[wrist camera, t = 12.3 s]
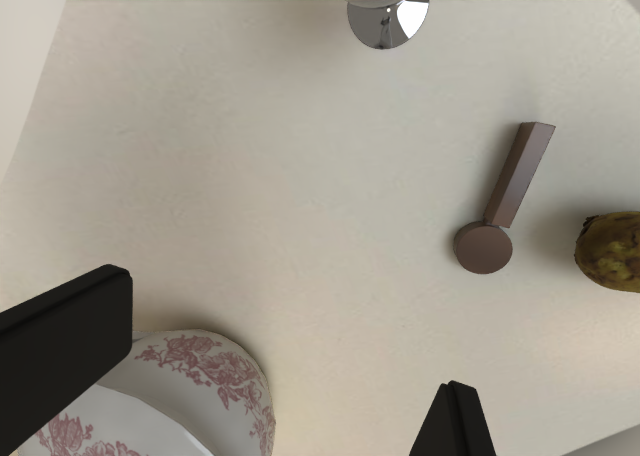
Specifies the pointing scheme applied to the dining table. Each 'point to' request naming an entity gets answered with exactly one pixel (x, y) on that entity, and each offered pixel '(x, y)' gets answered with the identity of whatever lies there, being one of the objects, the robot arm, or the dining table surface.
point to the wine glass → (386, 20)
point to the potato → (611, 250)
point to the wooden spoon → (503, 204)
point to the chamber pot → (168, 403)
